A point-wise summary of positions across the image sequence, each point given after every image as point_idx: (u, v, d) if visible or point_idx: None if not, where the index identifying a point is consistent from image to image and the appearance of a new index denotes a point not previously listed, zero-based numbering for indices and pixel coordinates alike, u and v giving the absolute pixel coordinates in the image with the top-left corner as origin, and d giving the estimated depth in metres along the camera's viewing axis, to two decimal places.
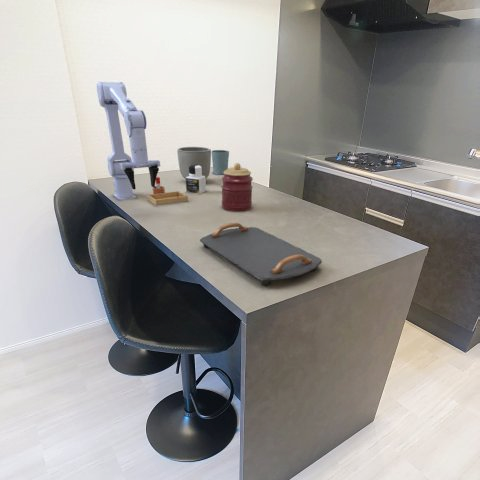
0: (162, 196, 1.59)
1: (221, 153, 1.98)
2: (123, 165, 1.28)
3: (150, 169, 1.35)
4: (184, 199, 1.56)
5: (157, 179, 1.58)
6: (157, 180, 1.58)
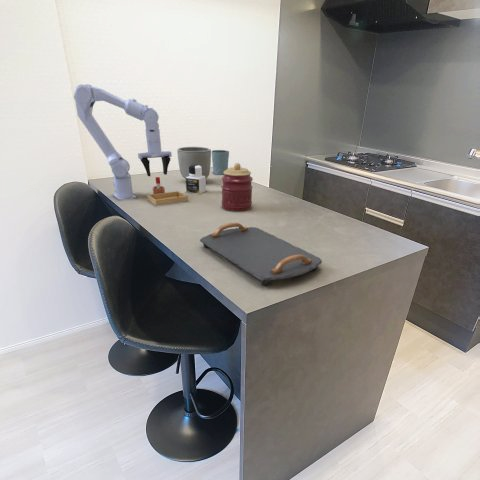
0: (162, 196, 1.59)
1: (221, 153, 1.98)
2: (140, 155, 1.49)
3: (163, 159, 1.56)
4: (184, 199, 1.56)
5: (157, 179, 1.58)
6: (157, 180, 1.58)
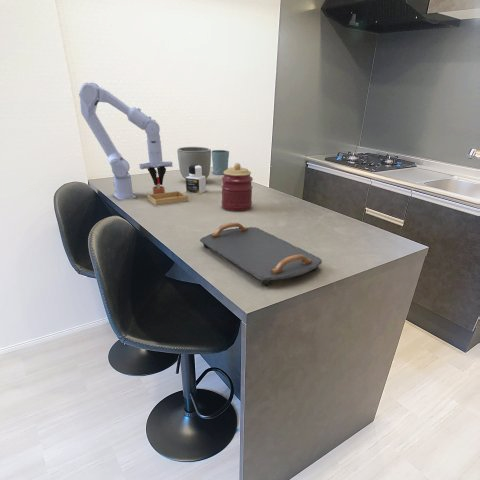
0: (162, 196, 1.59)
1: (221, 153, 1.98)
2: (142, 165, 1.52)
3: (158, 169, 1.57)
4: (184, 199, 1.56)
5: (157, 179, 1.58)
6: (157, 180, 1.58)
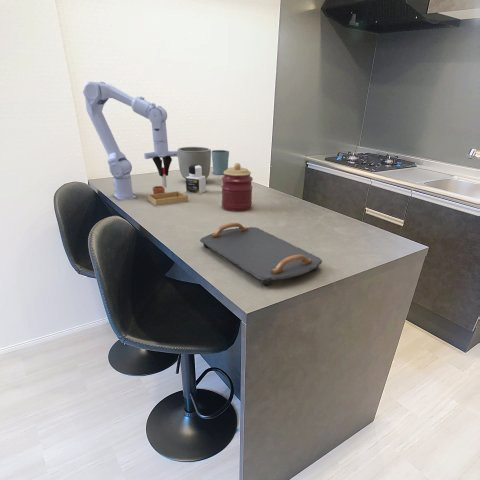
0: (162, 196, 1.59)
1: (221, 153, 1.98)
2: (147, 155, 1.44)
3: (164, 159, 1.50)
4: (184, 199, 1.56)
5: (162, 169, 1.51)
6: (162, 170, 1.51)
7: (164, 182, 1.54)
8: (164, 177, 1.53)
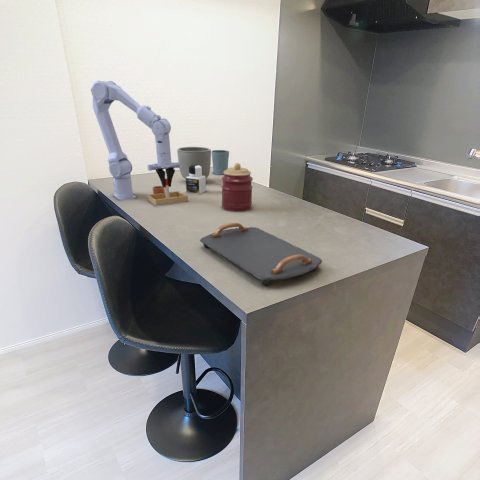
0: (162, 196, 1.59)
1: (221, 153, 1.98)
2: (150, 167, 1.45)
3: (167, 171, 1.51)
4: (184, 199, 1.56)
5: (165, 181, 1.52)
6: (165, 182, 1.52)
7: (167, 193, 1.55)
8: (167, 188, 1.54)
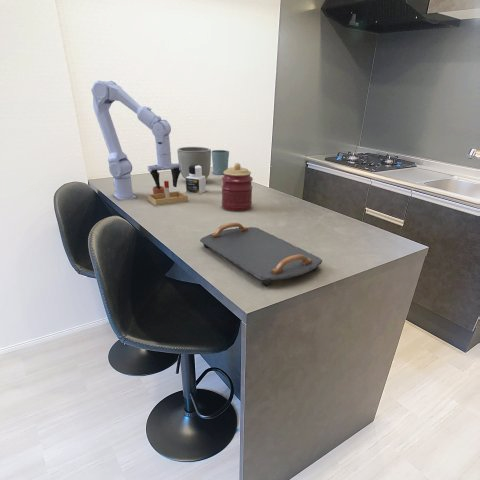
0: (162, 196, 1.59)
1: (221, 153, 1.98)
2: (150, 168, 1.45)
3: (173, 171, 1.52)
4: (184, 199, 1.56)
5: (166, 183, 1.52)
6: (166, 184, 1.52)
7: (167, 195, 1.55)
8: (167, 190, 1.54)
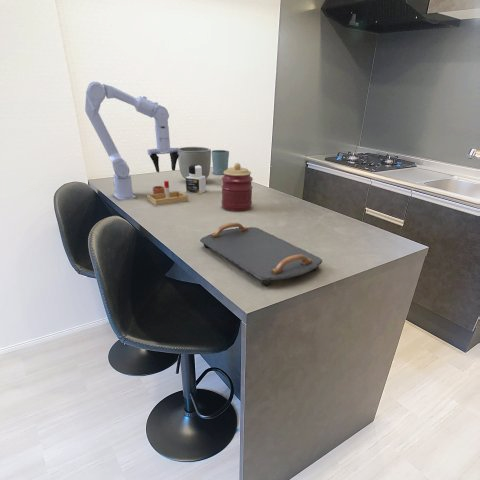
0: (162, 196, 1.59)
1: (221, 153, 1.98)
2: (150, 151, 1.53)
3: (171, 155, 1.60)
4: (184, 199, 1.56)
5: (166, 183, 1.52)
6: (166, 184, 1.52)
7: (167, 195, 1.55)
8: (167, 190, 1.54)
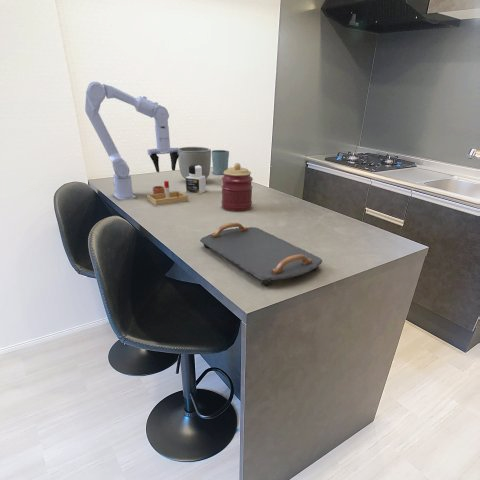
0: (162, 196, 1.59)
1: (221, 153, 1.98)
2: (150, 151, 1.53)
3: (171, 155, 1.60)
4: (184, 199, 1.56)
5: (166, 183, 1.52)
6: (166, 184, 1.52)
7: (167, 195, 1.55)
8: (167, 190, 1.54)
